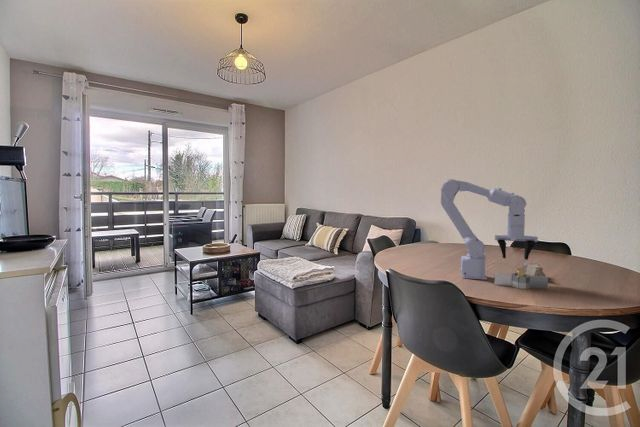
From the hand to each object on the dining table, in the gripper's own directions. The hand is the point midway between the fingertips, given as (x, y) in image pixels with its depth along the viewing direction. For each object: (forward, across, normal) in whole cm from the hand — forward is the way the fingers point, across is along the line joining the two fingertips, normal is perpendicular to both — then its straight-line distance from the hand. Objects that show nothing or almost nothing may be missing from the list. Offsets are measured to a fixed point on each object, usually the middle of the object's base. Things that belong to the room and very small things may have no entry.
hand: (514, 258), depth 122 cm
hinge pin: (+9, 0, -7) cm, 12 cm away
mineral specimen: (+10, +8, +9) cm, 16 cm away
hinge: (+9, 0, -7) cm, 12 cm away
